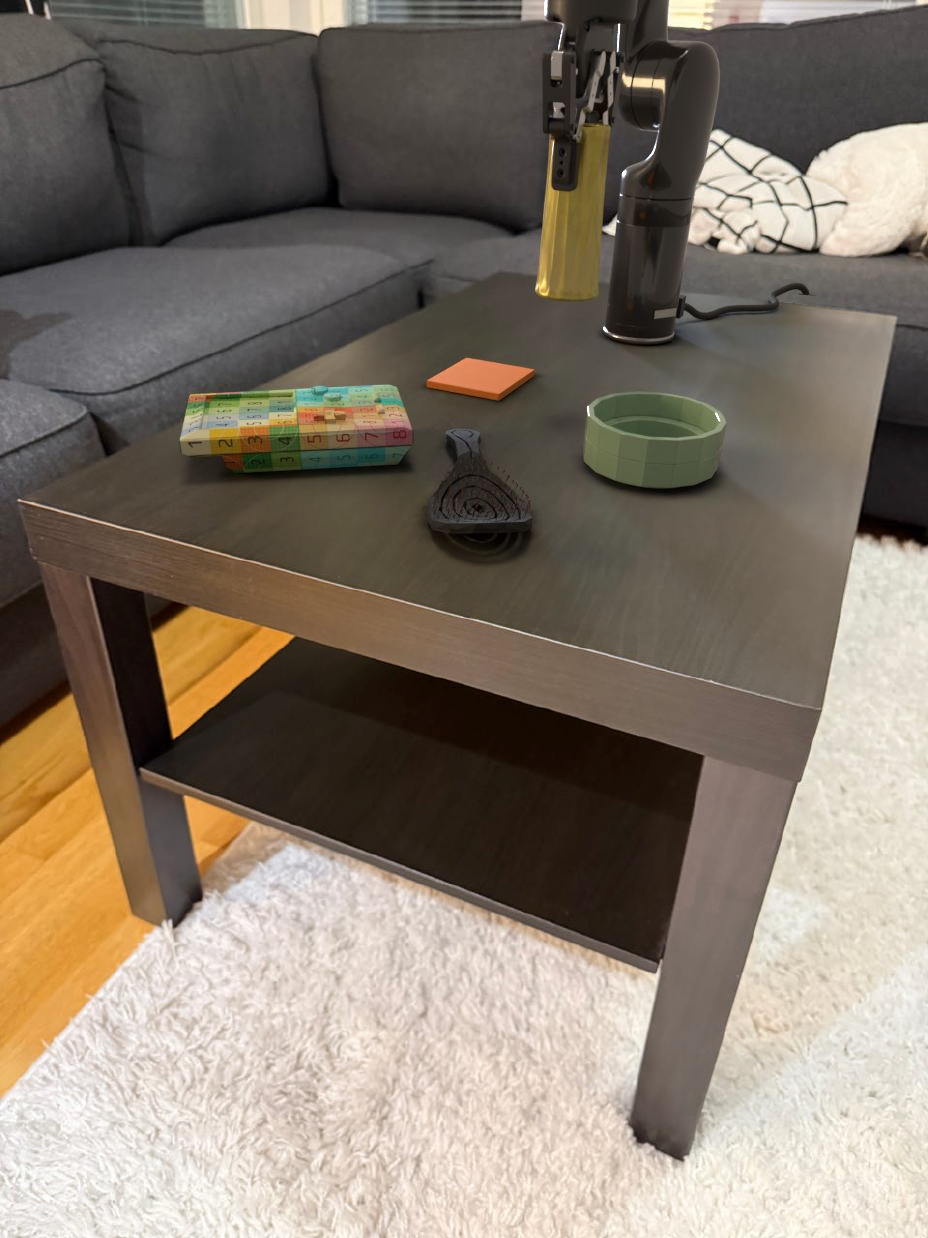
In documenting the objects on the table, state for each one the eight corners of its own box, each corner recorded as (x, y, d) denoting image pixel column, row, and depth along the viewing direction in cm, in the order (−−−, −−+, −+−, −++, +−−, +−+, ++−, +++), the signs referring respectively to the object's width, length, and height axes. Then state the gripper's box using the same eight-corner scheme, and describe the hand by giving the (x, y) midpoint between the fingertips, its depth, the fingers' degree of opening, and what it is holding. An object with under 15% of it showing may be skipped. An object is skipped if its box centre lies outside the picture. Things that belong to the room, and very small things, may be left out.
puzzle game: (413, 420, 76) (177, 430, 73) (413, 469, 79) (185, 482, 76) (397, 377, 86) (187, 385, 83) (398, 423, 88) (195, 432, 85)
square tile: (466, 363, 105) (466, 357, 105) (534, 375, 102) (535, 369, 102) (426, 387, 98) (426, 380, 98) (498, 401, 95) (499, 393, 94)
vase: (595, 304, 81) (613, 128, 73) (530, 299, 82) (541, 125, 74) (600, 289, 86) (618, 123, 78) (539, 285, 87) (550, 120, 79)
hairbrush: (502, 408, 85) (545, 510, 63) (500, 444, 87) (542, 556, 65) (417, 409, 84) (431, 513, 63) (417, 445, 86) (432, 559, 64)
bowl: (607, 432, 88) (612, 383, 85) (728, 456, 83) (738, 405, 80) (563, 476, 78) (568, 423, 76) (696, 505, 74) (707, 450, 71)
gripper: (582, -42, 76) (565, 175, 85) (515, -58, 65) (504, 192, 75) (666, -43, 73) (639, 181, 83) (611, -60, 62) (587, 200, 72)
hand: (575, 185), depth 78 cm, fingers closed on vase, 5 cm apart
